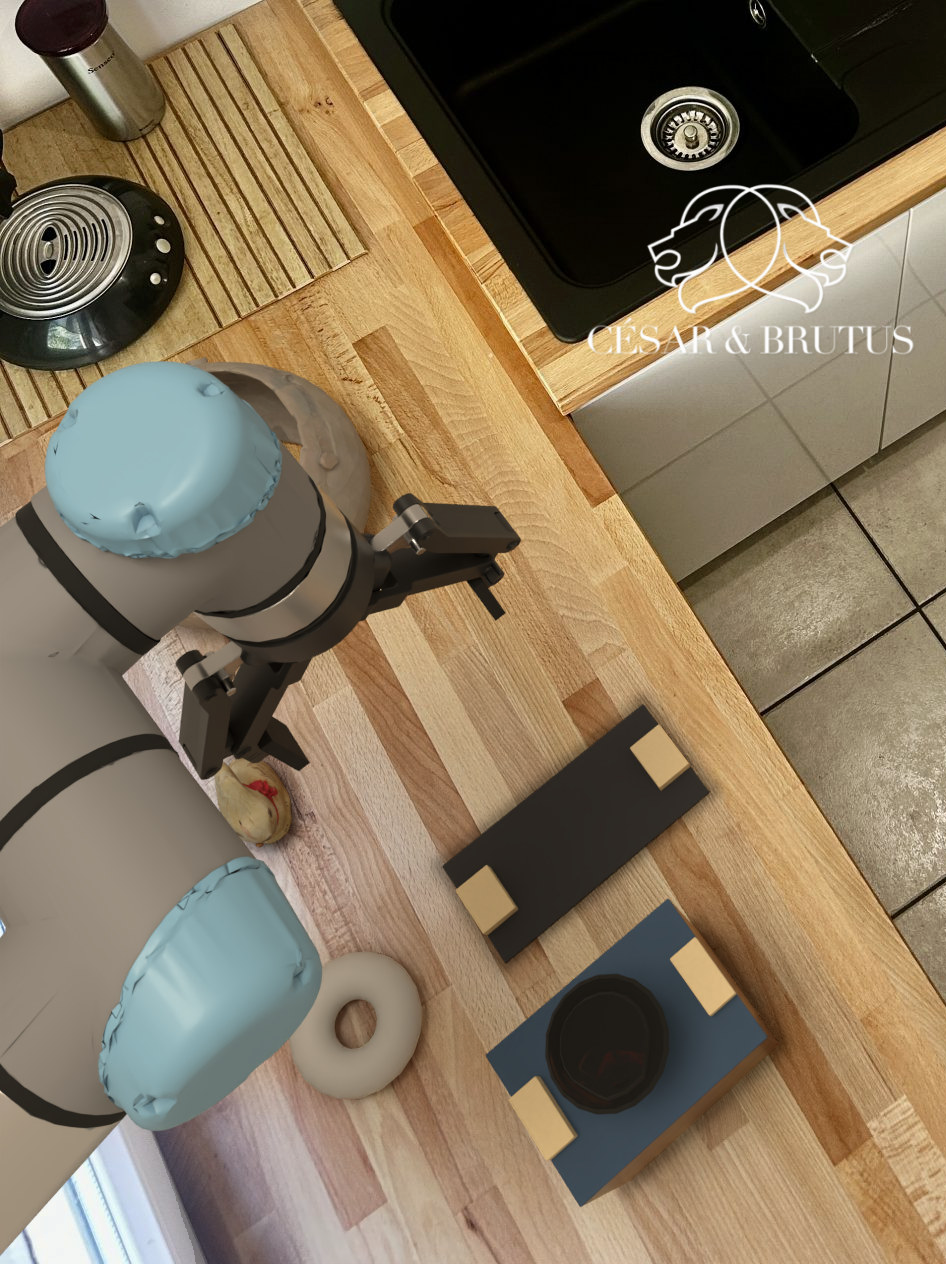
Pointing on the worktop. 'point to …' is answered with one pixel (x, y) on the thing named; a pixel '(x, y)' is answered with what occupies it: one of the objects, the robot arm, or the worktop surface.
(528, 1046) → the blue slab
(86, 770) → the robot arm
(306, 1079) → the donut
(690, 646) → the worktop surface
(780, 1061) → the worktop surface
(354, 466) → the bowl
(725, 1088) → the stand
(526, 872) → the mat
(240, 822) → the tan rounded lumpy piece
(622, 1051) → the coffee cup
